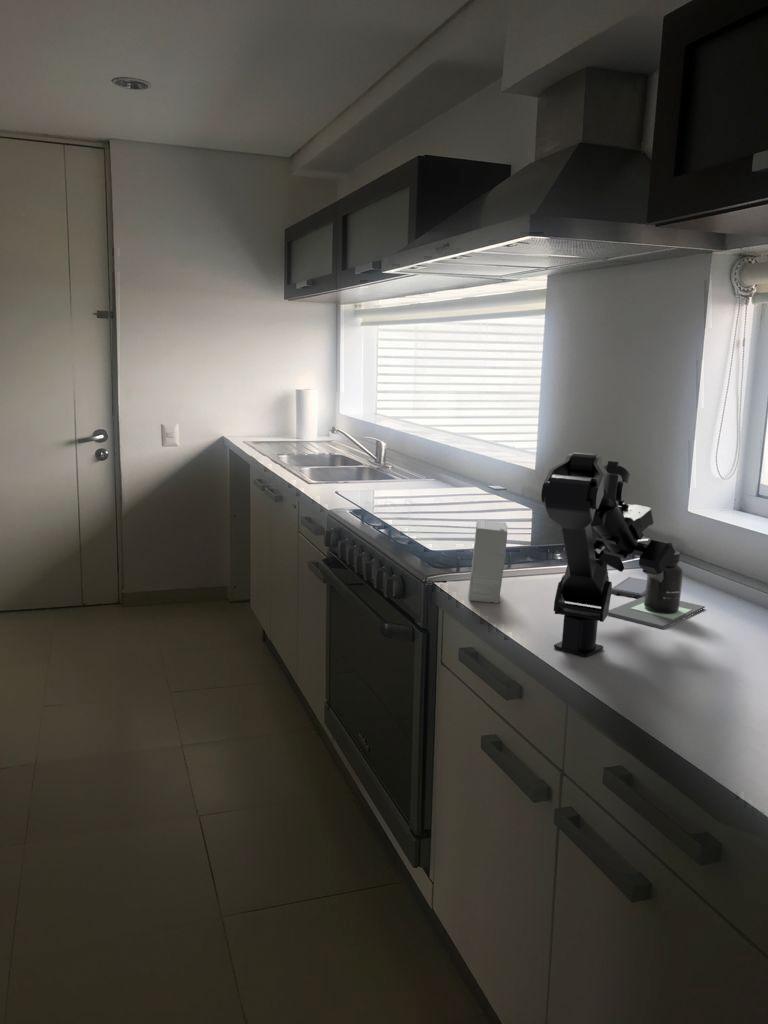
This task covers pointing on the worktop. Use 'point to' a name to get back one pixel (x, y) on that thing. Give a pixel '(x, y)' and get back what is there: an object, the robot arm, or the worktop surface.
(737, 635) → the worktop surface
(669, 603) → the supplement bottle
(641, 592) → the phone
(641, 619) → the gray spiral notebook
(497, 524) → the skincare box
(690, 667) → the worktop surface
